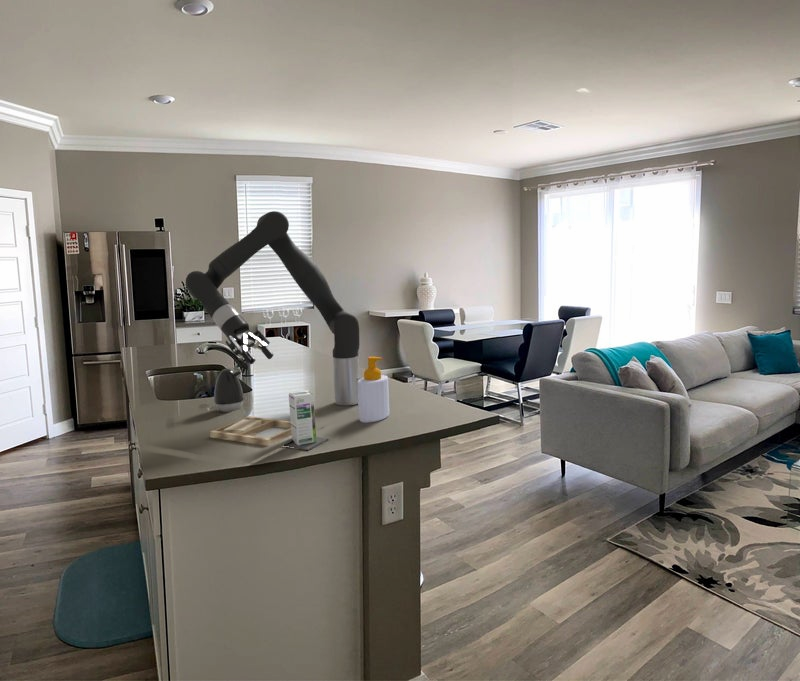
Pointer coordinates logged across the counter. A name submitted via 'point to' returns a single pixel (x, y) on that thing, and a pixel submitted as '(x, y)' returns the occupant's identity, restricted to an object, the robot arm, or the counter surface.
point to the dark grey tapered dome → (228, 391)
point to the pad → (307, 446)
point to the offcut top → (243, 426)
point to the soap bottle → (373, 393)
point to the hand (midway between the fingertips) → (262, 359)
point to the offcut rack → (254, 432)
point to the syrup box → (302, 417)
